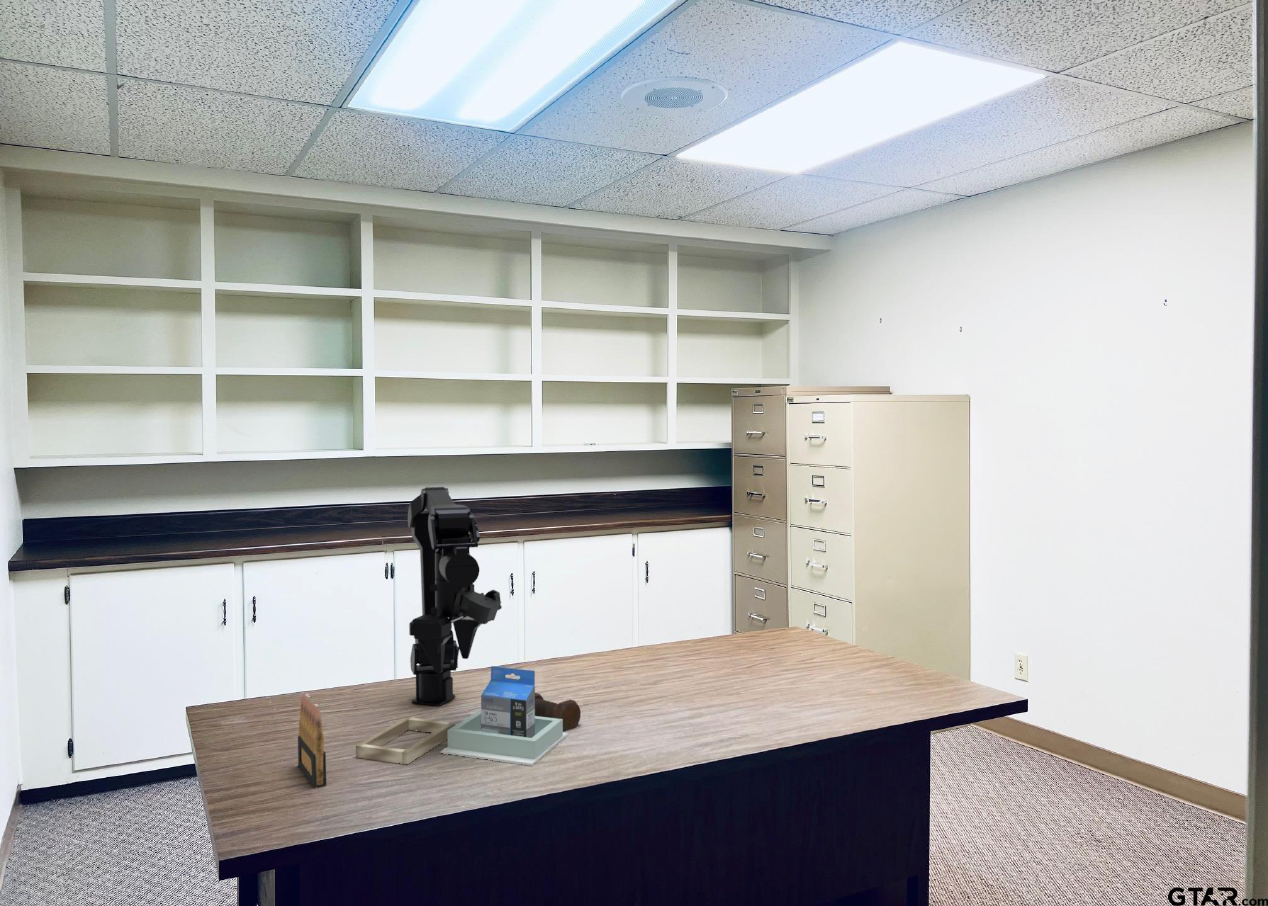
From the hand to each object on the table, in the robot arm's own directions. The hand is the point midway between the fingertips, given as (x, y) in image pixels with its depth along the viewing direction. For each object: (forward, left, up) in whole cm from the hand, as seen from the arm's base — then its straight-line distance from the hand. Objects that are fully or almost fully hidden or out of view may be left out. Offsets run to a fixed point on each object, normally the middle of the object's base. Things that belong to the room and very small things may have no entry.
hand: (452, 665), depth 155 cm
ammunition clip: (-12, -22, -13) cm, 29 cm away
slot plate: (+11, 0, -13) cm, 17 cm away
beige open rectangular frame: (-5, -6, -13) cm, 15 cm away
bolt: (+12, +14, -13) cm, 22 cm away
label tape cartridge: (+11, 0, -13) cm, 17 cm away
